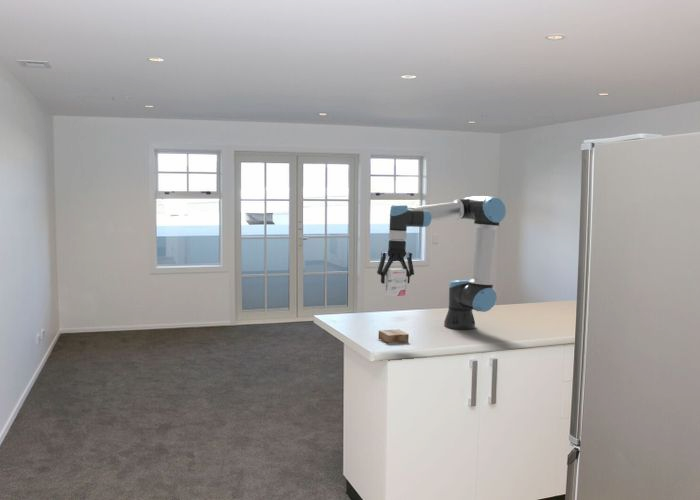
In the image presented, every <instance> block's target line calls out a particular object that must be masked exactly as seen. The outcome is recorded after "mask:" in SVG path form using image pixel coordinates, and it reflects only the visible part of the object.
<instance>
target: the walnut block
mask: <svg viewBox="0 0 700 500" xmlns="http://www.w3.org/2000/svg"><path fill="white" fill-rule="evenodd" d="M377 337H378V340H380V339H381V341H382V340H383V341H382V342H383V343H386V344H388V343H390V344H404V343H405V344H407V343H409V339H410V338H409V337H410V336H409V333H407V332H405V331H403V330H401V329H381V330H378V336H377ZM406 342H407V343H406Z"/></svg>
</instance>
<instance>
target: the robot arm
mask: <svg viewBox="0 0 700 500" xmlns="http://www.w3.org/2000/svg"><path fill="white" fill-rule="evenodd" d="M506 209H507V208H506V205H505V202H503V200H502V199H501V198H499V197H495V196H492V195H490V196H488V195H487V196H485V195H472V196H467V197H462V198H455V199H454V200H452V201H450V202H442V203H441V202H440V203H434V204H427V205H426V204H425V205H418V206H411V207H408V205H407V204H406V205H405V204H392V205H391V206H390V209H389V210H390V211H389V213H390V214H389V230H388V231H389V233H388V239H389V240H388V250H387V251H385V252H384V251H383V252H382V251H381V253H380V256H381V257H380V261H379V264H378V268H377V271H376V273H377V275H380V283H381V284H382V286H381V288H382V291H383V292H384V291H386V282H387V276H385V275H386V273H387V271H388V269H390V268H391V266H392V265H393V263H394V262H399V263H400V264H401V267H402V269H406V286H405V292H408V284H410V281H411V279H410V278H411V277H412V276H414V275H415V270H414V265H413V260H412V258H413V253H412V252H407V251H406V250H407V249H406V248H407V247H406V245H407V244H406V243H407V242H406V240H407V227H408V228H409V227H412V228H416V227H417V228H427V227H429V226H430V225H431V223H432V221H438V220H446V219H452V218H453V219H457V220H461V219H464V220H474V222H473V224H474V226H475V228H476V233H475V245H474V253H473V261H472V262H473V263H472V271H471V278H470V279H464V280H461V279H460V280H459V279H458V280H451V281H450V283H449V288H448V310H447V313H446V315H445V319H444V320H443V321H444V323H443V326H444V327H445V328H448V329H455V330H472V329H475V328H476V322H475V316H474V313H473V310H474V311H476V312H480V313H481V312H482V313H486V312H488V311H490V310H491V309H493V308H494V306H495V304H496V302H497V298H498V297H497V293H496V291H495V290H494V289H493V287H494V283H493V281H491V274H492V265H493V264H492V263H493V256H494V245H495V237H496V236H495V235H496V229H498V228H499V227H500V222H501V221H503V219H504V218H505V217H506V212H507V210H506ZM387 257H388V259H387V262H386V258H387ZM405 257H406V259H407V260H405ZM406 261H407V264H406ZM385 262H386V264H385ZM407 265H408V266H407Z"/></svg>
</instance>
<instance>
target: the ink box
mask: <svg viewBox="0 0 700 500" xmlns="http://www.w3.org/2000/svg"><path fill="white" fill-rule="evenodd" d="M385 276H387V282H386V291H383V295H385V296H387V297H398V296H406V291H405V286H406V269H403V268H389V269H388V271H387V273H386V275H385Z"/></svg>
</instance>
